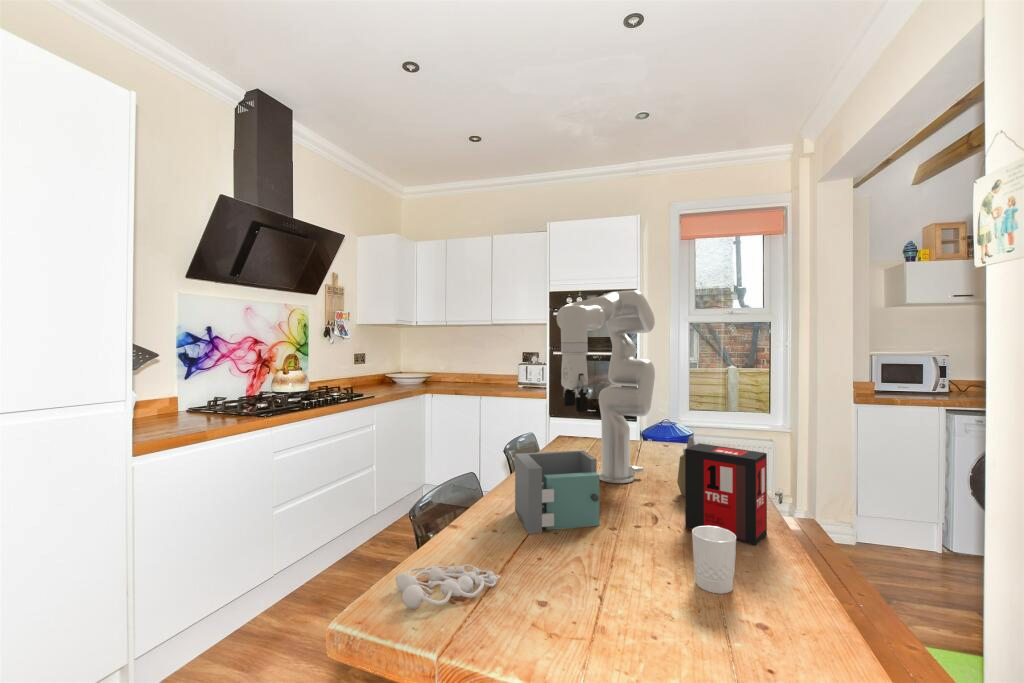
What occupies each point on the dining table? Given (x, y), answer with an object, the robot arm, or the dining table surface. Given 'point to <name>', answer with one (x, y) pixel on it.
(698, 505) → the cleaning product box
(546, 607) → the dining table surface
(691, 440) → the squeeze bottle
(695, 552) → the white cup
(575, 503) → the cabinet door
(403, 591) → the tangled rod sculpture
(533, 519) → the cabinet
